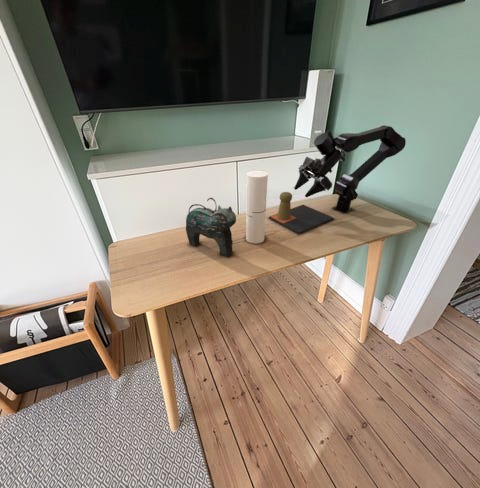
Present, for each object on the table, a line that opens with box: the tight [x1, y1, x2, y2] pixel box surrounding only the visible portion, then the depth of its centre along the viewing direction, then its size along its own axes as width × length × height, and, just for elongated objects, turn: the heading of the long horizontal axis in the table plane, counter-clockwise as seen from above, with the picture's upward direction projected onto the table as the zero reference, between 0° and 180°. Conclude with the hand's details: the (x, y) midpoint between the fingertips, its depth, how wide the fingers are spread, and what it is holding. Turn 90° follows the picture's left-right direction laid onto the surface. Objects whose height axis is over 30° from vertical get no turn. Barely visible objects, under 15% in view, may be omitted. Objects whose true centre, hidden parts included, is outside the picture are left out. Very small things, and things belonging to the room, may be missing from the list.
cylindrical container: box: [245, 170, 269, 244], centre depth 93 cm, size 7×7×25 cm
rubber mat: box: [268, 204, 334, 235], centre depth 114 cm, size 22×18×1 cm
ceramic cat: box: [185, 197, 237, 258], centre depth 89 cm, size 20×6×20 cm, turn 59°
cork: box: [277, 191, 293, 220], centre depth 110 cm, size 6×6×11 cm
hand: (300, 192), depth 109 cm, fingers open, 9 cm apart
